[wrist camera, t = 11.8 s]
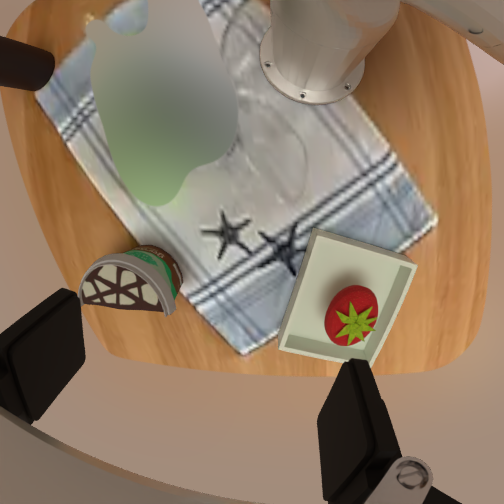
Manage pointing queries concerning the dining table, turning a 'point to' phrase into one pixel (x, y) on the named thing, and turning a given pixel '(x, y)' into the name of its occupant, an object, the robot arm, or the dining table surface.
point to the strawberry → (351, 315)
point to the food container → (133, 281)
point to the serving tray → (334, 280)
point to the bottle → (24, 65)
